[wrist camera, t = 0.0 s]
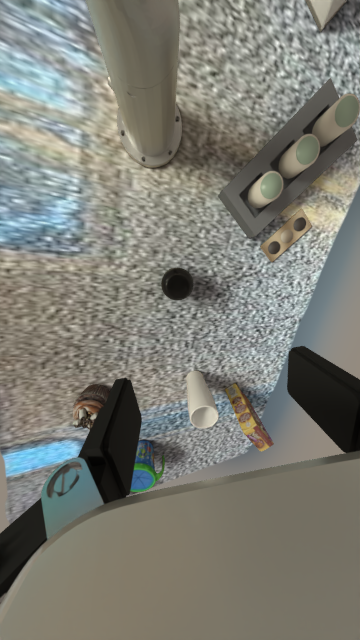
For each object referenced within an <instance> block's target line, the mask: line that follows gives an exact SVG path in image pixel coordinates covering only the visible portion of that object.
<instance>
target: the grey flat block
mask: <svg viewBox="0 0 360 640" xmlns="http://www.w3.org/2000/svg"><path fill="white" fill-rule="evenodd" d="M338 100H339V96H338V94H337V92H336V89H335V87H334V85H333V83H332V80H331V78H330V79H329V80H328V81H327V82H326V83H325V84H324V85H323V86H322V87H321V88H320V89H319V90H318V91H317V92H316V93H315V94H314V96H313V97H312V98H311V99H310V100H309V101H308V102H307V103H306V104H305V105H304V106H303V107H302V108H301V109H300V110H299V111H298V112H297V113H296V114H295V115H294V116H293V117H292V118H291V119H290V120H289V121H288V122H287V124H286V125H285V126H284V127H283V128H282V129H281V130H280V131H279V132H278V133H277V134H276V135H275V136H274V137H273V138H272V139H271V140H270V141H269V142H268V143H267V144H266V145H265V146H264V147H263V148H262V149H261V151H260V152H259V153H258V154H257V155H256V156H255V157H254V158H253V159H252V160H251V161H250V162H249V163H248V164H247V165H246V166H245V167H244V168H243V169H242V170H241V171H240V172H239V173H238V174H237V175H236V176H235V177H234V179H233V180H232V181H231V182H230V183H229V184H228V185H227V186H226V187H225V188H224V189H223V190H222V191H221V193H220V194H219V195H218V197H219V198H220V200H221V201H222V202H223V204H224V205H225V207H226V208H227V209H228V211H229V212H230V213H231V215H232V216H233V218H234V219H235V220H236V222H237V223H238V224H239V226H240V227H241V229H242V230H243V231H244V233H245V234H246V235H247V237H248V238H252V237H255V236H256V235H257V234H258V233H260V232H261V231H262V230H263V229H264V228H265V227H266V226H267V225H268V224H269V223H270V222H271V221H272V220H273V219H274V218H275V217H277V216H278V215H279V214H280V213H281V212H282V211H283V210H284V209H285V208H286V207H287V206H288V205H289V204H290V203H291V202H292V201H293V200H295V199H296V198H297V197H298V196H299V195H300V194H301V193H302V192H303V191H304V190H305V189H306V188H307V187H308V186H309V185H310V184H312V183H313V182H314V181H315V180H316V179H317V178H318V177H319V176H320V175H321V174H322V173H323V172H324V171H325V170H326V169H327V168H328V167H330V166H331V165H332V164H333V163H334V162H335V161H336V160H337V159H338V158H339V157H340V156H341V155H342V154H343V153H344V152H345V151H346V150H348V149H349V148H350V147H351V146H352V145H353V144H354V143H355V142H356V141H357V138H356V135H355V133H354V131H353V128H352V126H351V127H350V128H349V129H348V130H346V131H345V132H344V133H342V134H341V135H340V136H338V137H337V138H335V139H334V140H333V141H331V142H330V143H329V144H327V145H326V146H323V147H320V152H319V155H318V158H317V159H316V161H315V162H314V163H313V164H312V165H310V166H309V167H308V168H306V169H305V170H303V171H302V172H300V173H299V174H297V175H296V176H294V177H293V178H290V179H287V178H284V177H283V176H282V175H281V174H280V172H279V161H280V158H281V157H282V155H283V154H284V153H285V152H286V151H287V150H288V149H289V148H290V147H291V146H292V145H293V144H295V143H296V142H297V141H298V140H299V139H300V138H301V137H302V136H304V135H306V134H312V129H313V126H314V124H315V122H316V121H317V120H318V119H319V118H320V117H321V116H322V115H323V114H324V113H325V112H326V111H327V110H328V109H329V108H330V107H331V106H332V105H333V104H334V103H335V102H336V101H338ZM269 171H276V172H278V173H279V174H280V175H281V176H282V179H283V190H282V192H281V194H280V196H279V197H278V198H277V199H275V200H274V201H272V202H270V203H269V204H267V205H265V206H264V207H262V208H253V207H252V206H251V205H250V204H249V202H248V192H249V189H250V188H251V186H252V185H253V184H254V183H255V182H256V181H258V180H259V179H260V178H261V177H262V176H263V175H264V174H265V173H267V172H269Z"/></svg>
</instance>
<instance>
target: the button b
mask: <svg viewBox="0 0 360 640" xmlns="http://www.w3.org/2000/svg"><path fill="white" fill-rule="evenodd" d="M319 152H320V143H319V140H318V138H317V137H316V136H315V135H313V134H306V135H304V136H302V137H301V138H300V139H299V140H298V141H297V142H296V143H295V144H293V145H292V146H291V147H290V148H289V149H288V150H287V151H286V152H285V153H284V154H283V155H282V157H281V158H280V161H279V172H280V174H281V175H282V176H283V177H284V178H287V179H290V178H293V177H294V176H296V175H297V174H299V173H300V172H302V171H303V170H305V169H306V168H308V167H309V166H310V165H312V164H313V163H314V162H315V161H316V159H317V158H318V155H319Z"/></svg>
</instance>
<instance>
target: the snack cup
mask: <svg viewBox="0 0 360 640" xmlns="http://www.w3.org/2000/svg"><path fill="white" fill-rule="evenodd" d="M162 461H163V464H162V471H161V472H160V473H158V474H157V473H156V472H155V469H154V468H155V466H154V450H153V446H152V444H151V443H150V442H149V441H144V440H142V441H138V447H137V453H136V459H135V466H134V472H133V478H132V484H131V490H130V491H132V492H142V491H146V490H148V489H150V488H151V487H153V485H154V484H155V482H156V481H157V480H159V479H160V477H161V476H162V474H163V472H164V465H165V460H164V455H163V456H162Z"/></svg>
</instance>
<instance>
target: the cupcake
mask: <svg viewBox="0 0 360 640" xmlns="http://www.w3.org/2000/svg"><path fill="white" fill-rule="evenodd" d="M109 393H110V391H109V390H108V389H107V388H106V387H105V386H103V385H99V384H93V385H90V386H88V387H87V388H86V389H85V390H84V391H83V392H82V393H81V394H80V395H79V396H78V397H77V398H76V399H75V401H74V403H73V404H74V405H73V406H74V407H73V408H74V409H73V417H74V419H75V421H74V422H73V425H74V426H75V428H77V427H81V426H83V428H86V427H87V428H88V429H89V430H91V428H92V425H93V423H94V421H95V419H96V417H97V414H98V412H99V410H100V409H101V407H103V406H104V405H105V402H106V400H107V398H108V396H109Z"/></svg>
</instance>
